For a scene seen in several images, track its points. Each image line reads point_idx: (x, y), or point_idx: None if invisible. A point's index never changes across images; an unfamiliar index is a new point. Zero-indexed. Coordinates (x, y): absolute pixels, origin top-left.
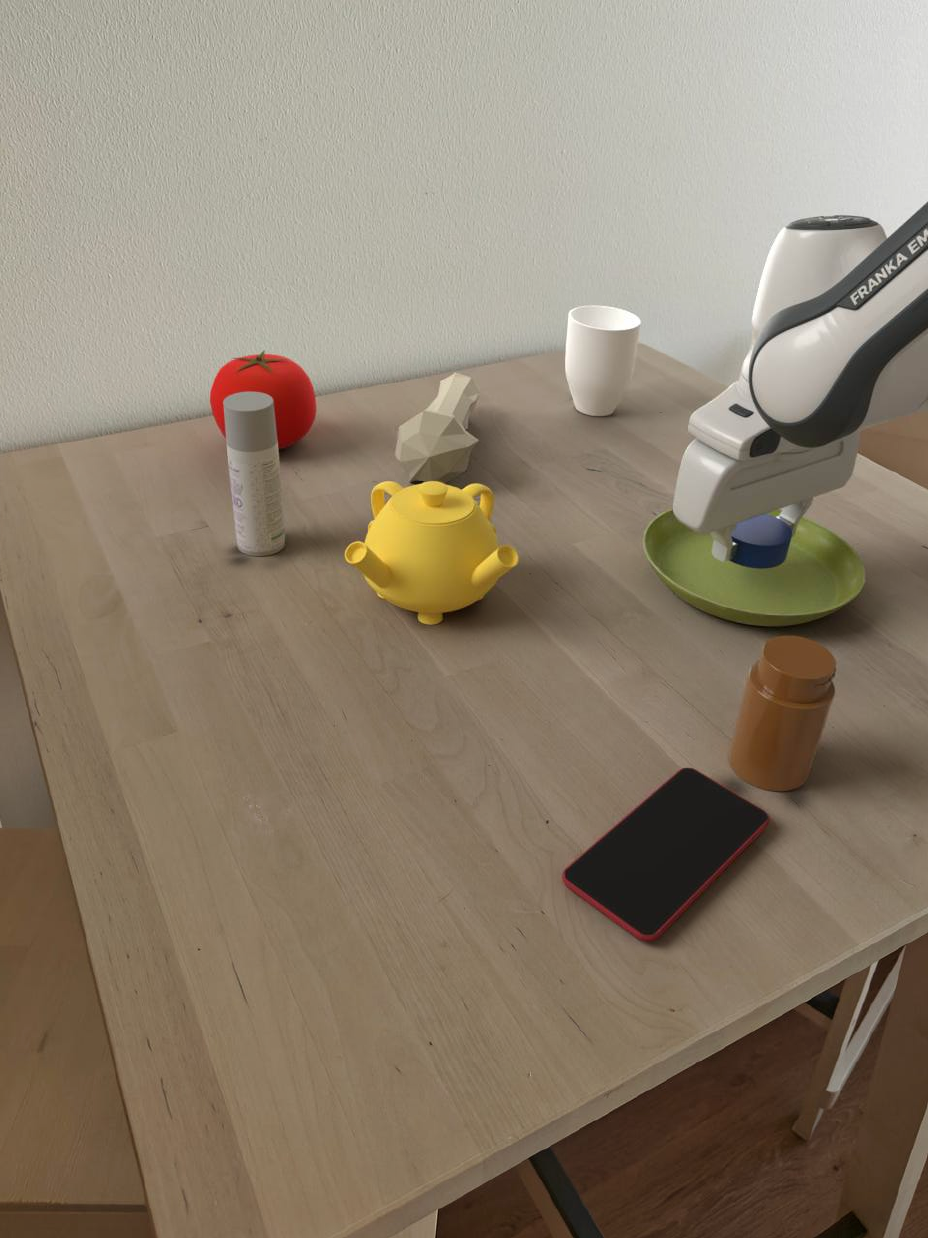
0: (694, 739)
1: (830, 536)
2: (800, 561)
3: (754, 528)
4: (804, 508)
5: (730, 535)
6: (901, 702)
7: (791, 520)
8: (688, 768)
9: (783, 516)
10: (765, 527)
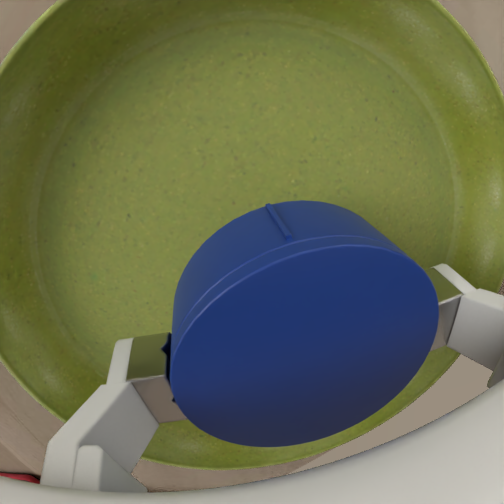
0: (40, 461)
1: (499, 264)
2: (421, 254)
3: (306, 381)
4: (493, 369)
5: (129, 472)
6: (266, 477)
7: (453, 339)
8: (29, 481)
9: (461, 310)
10: (351, 375)
